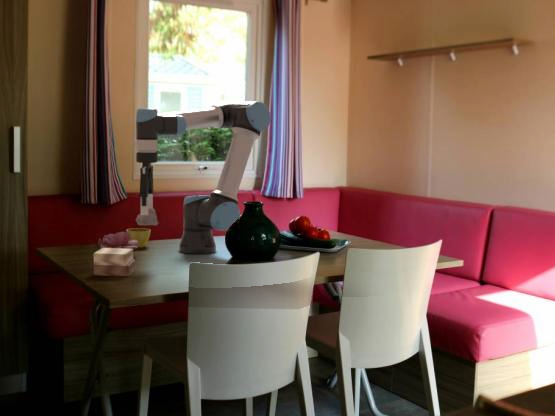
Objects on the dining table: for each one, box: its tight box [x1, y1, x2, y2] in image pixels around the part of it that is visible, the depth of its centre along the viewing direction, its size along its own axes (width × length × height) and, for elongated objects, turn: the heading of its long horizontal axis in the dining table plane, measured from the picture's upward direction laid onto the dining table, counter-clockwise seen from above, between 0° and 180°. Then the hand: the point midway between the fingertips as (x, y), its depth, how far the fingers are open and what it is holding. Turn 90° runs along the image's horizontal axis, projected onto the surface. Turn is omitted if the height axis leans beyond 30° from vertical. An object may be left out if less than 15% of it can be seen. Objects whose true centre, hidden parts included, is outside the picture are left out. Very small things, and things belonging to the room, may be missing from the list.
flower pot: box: [125, 227, 152, 249], centre depth 306 cm, size 10×10×7 cm
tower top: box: [93, 248, 134, 266], centre depth 253 cm, size 11×11×4 cm
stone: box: [135, 207, 159, 226], centre depth 265 cm, size 8×10×6 cm
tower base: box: [93, 258, 136, 277], centre depth 254 cm, size 12×12×4 cm
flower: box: [97, 231, 138, 252], centre depth 283 cm, size 15×15×10 cm
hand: (146, 213), depth 265 cm, fingers closed on stone, 9 cm apart
